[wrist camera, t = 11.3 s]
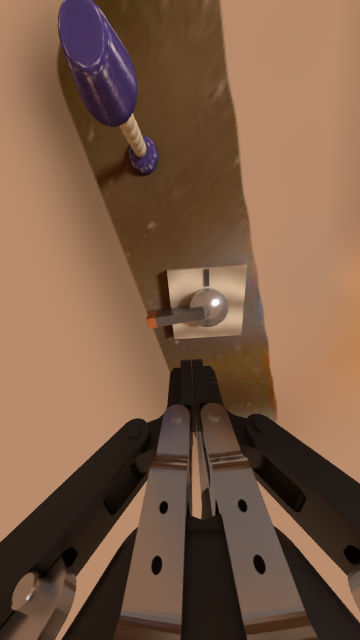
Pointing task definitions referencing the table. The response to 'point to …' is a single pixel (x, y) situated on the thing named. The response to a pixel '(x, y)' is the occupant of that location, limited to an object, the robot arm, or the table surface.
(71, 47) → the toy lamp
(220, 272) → the board
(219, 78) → the table surface
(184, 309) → the orange-tipped lever
